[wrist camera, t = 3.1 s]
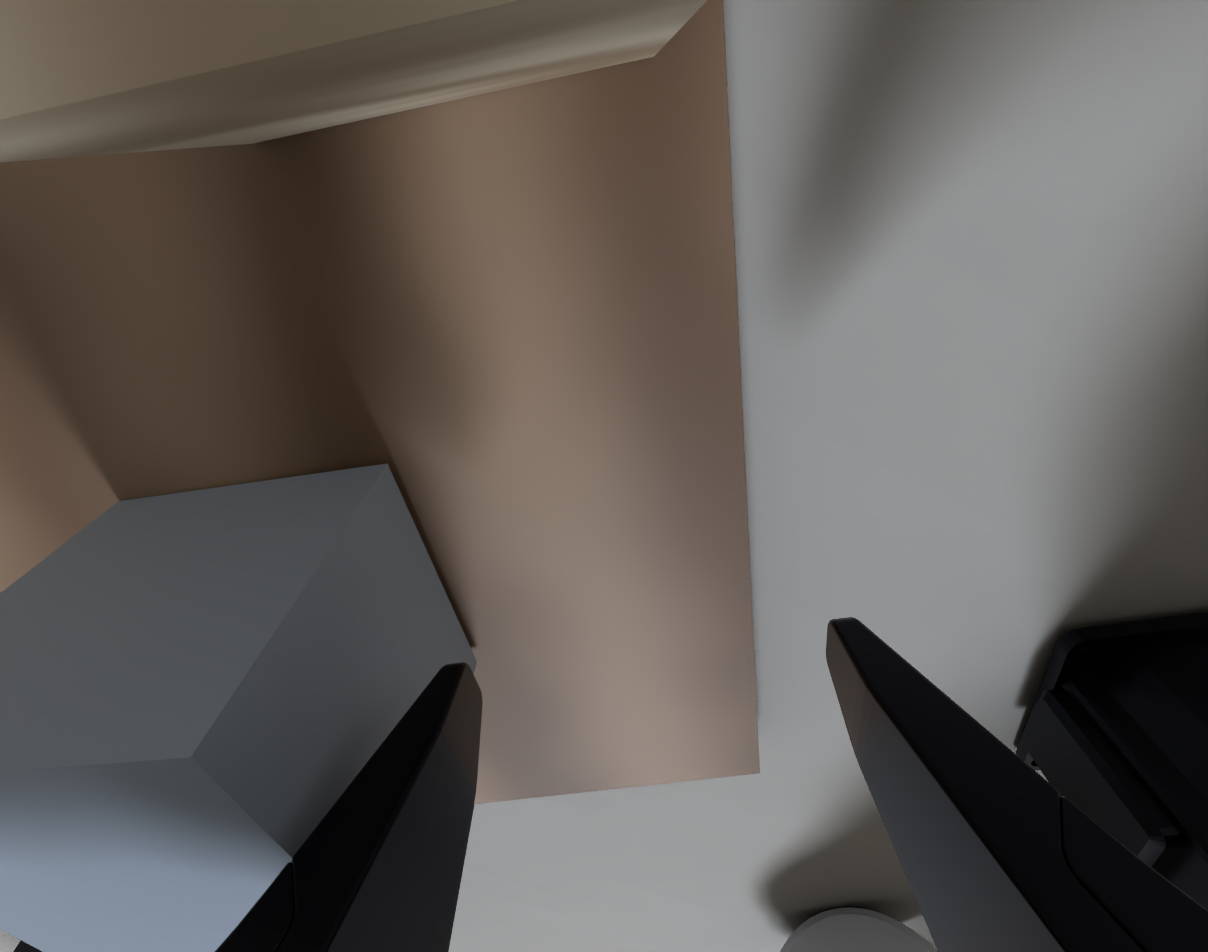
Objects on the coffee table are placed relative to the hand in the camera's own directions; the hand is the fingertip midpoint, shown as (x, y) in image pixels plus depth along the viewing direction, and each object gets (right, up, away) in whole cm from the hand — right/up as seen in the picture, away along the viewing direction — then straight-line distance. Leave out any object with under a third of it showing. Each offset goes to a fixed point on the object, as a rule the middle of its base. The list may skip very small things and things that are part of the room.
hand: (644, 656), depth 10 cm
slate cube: (-7, +1, +3) cm, 8 cm away
